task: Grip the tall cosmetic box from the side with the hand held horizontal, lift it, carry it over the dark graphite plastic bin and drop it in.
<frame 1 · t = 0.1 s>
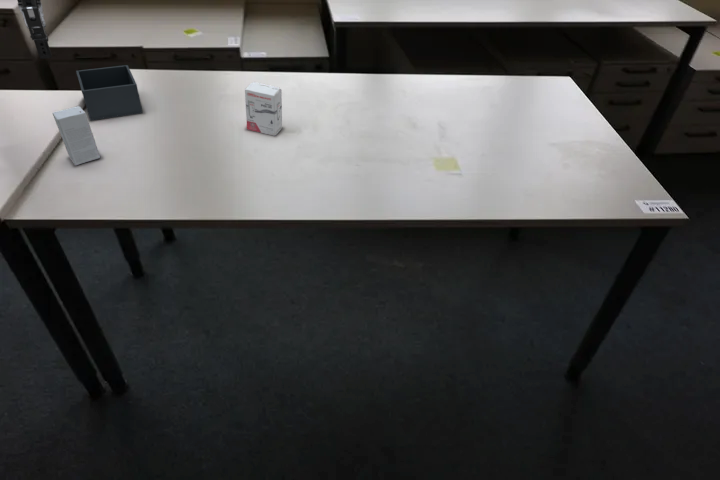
hand: (44, 49, 106), 26 cm above the table, tool pointing down, fingers open, 8 cm apart
cosmetic box: (85, 159, 123), on the table
bin: (113, 106, 143), on the table
ink box: (264, 129, 140), on the table
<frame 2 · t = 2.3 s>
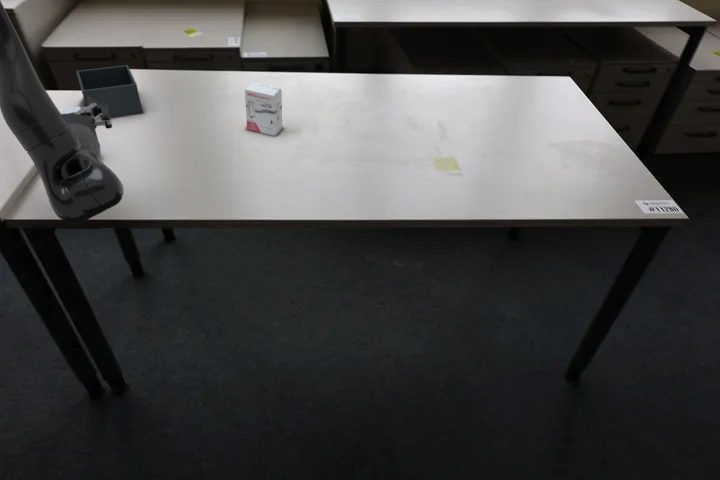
hand: (66, 104, 102), 20 cm above the table, tool horizontal, fingers open, 8 cm apart
nothing on the table moved.
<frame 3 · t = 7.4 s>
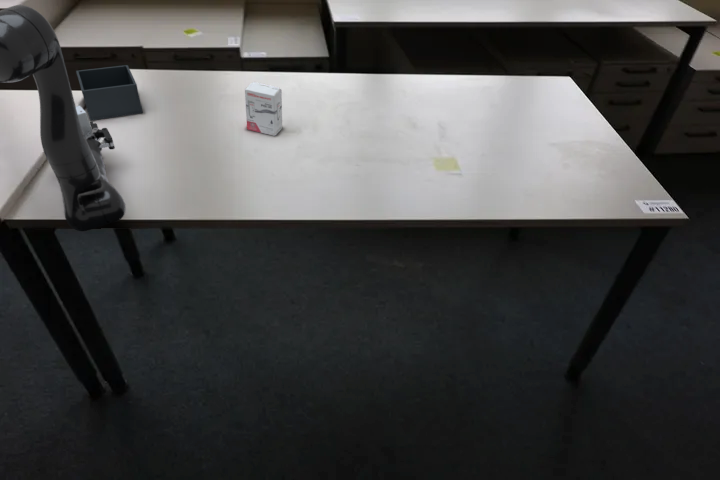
hand: (75, 127, 120), 7 cm above the table, tool horizontal, fingers closed on cosmetic box, 6 cm apart
cosmetic box: (85, 158, 123), on the table, touching gripper
everything else where it was.
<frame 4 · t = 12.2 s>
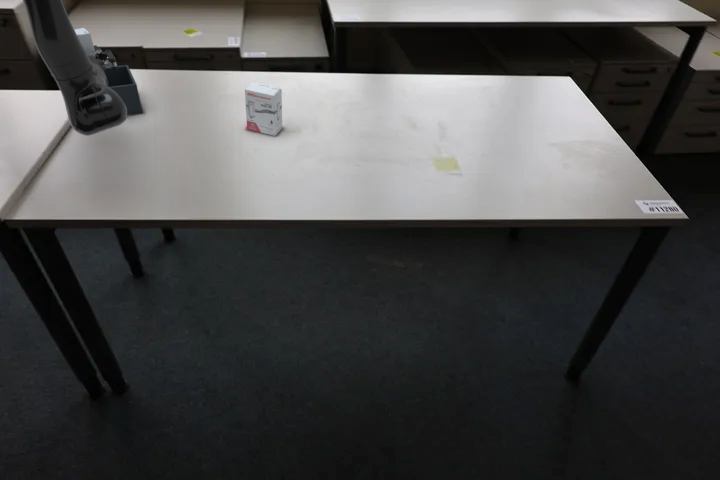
hand: (79, 51, 122), 20 cm above the table, tool horizontal, fingers closed on cosmetic box, 6 cm apart
cosmetic box: (88, 83, 125), point 13 cm above the table, touching gripper
everything else where it was.
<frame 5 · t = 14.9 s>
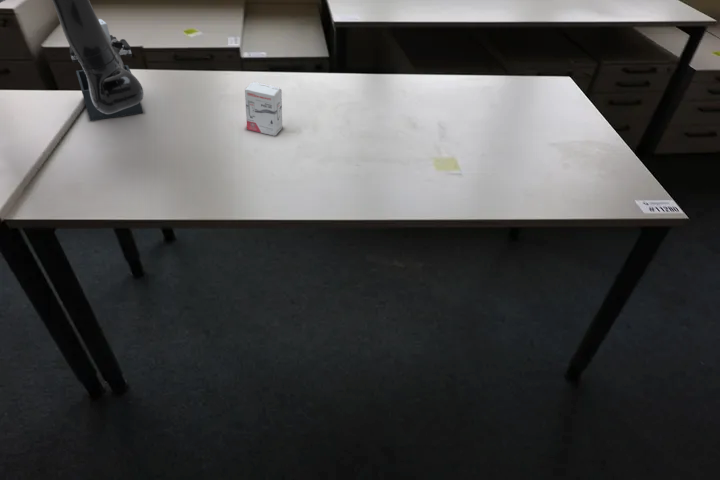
hand: (96, 40, 133), 17 cm above the table, tool horizontal, fingers closed on cosmetic box, 6 cm apart
cosmetic box: (104, 70, 136), point 10 cm above the table, touching gripper
everything else where it was.
when the fingers open (11 cm above the table, at t = 17.4 s): cosmetic box drops 3 cm, resting on bin.
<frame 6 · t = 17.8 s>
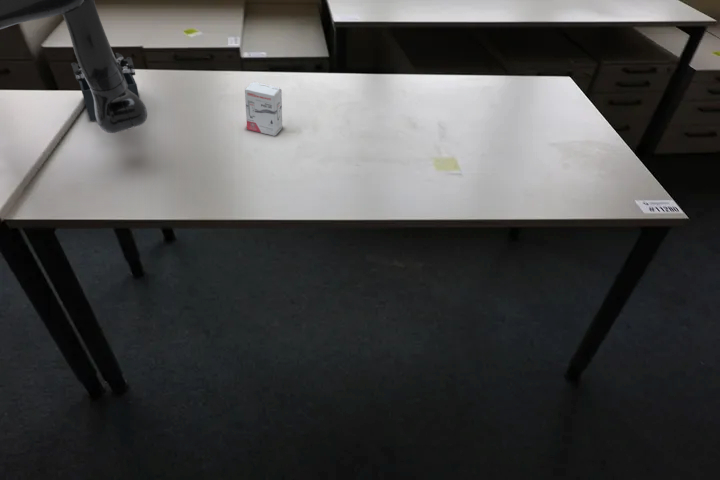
hand: (100, 57, 136), 13 cm above the table, tool horizontal, fingers open, 8 cm apart
cosmetic box: (110, 104, 142), point 1 cm above the table, touching bin
everything else where it was.
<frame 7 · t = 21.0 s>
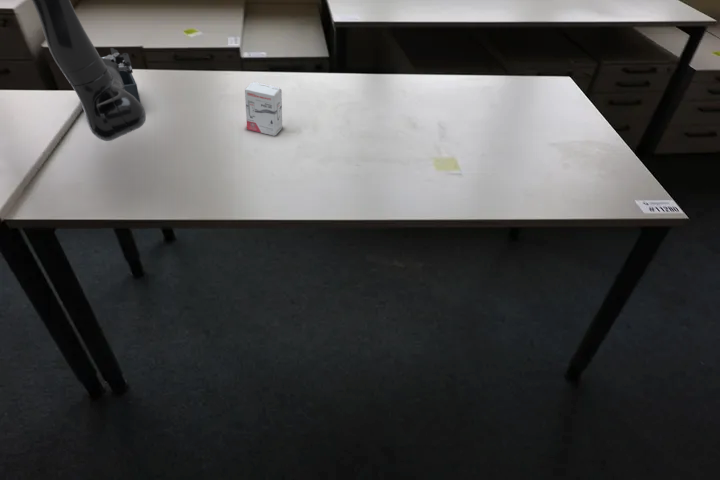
hand: (93, 53, 121), 20 cm above the table, tool horizontal, fingers open, 8 cm apart
nothing on the table moved.
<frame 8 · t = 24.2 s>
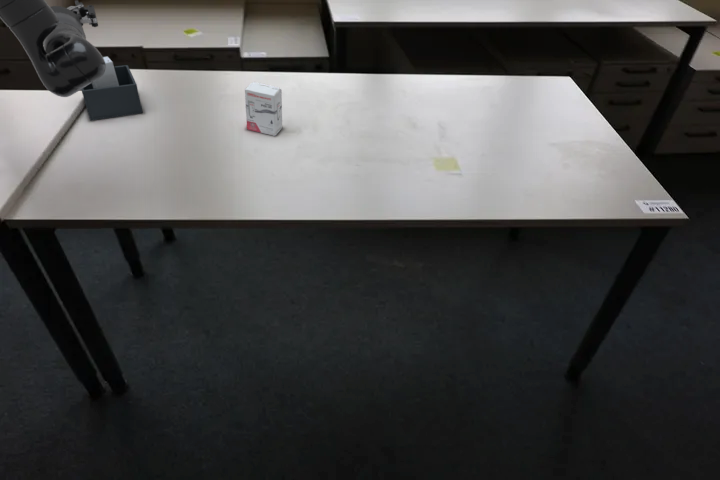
hand: (54, 6, 108), 32 cm above the table, tool horizontal, fingers open, 8 cm apart
nothing on the table moved.
at the end: cosmetic box inside the target area in the bin (0.4 cm from its centre), point 0.7 cm above the bin's base; the gripper is holding nothing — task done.
